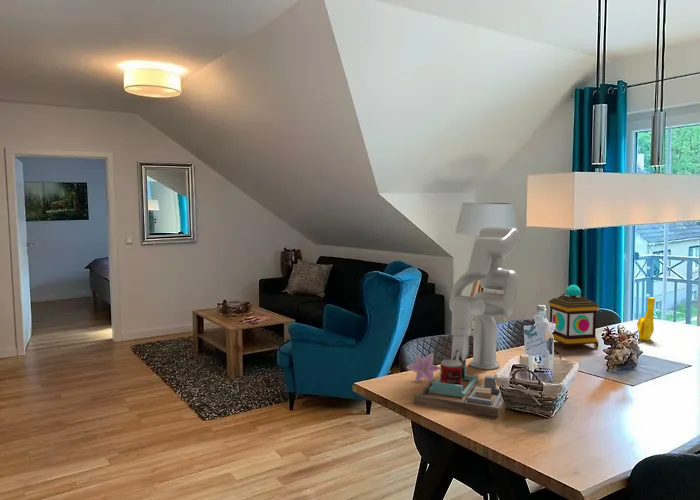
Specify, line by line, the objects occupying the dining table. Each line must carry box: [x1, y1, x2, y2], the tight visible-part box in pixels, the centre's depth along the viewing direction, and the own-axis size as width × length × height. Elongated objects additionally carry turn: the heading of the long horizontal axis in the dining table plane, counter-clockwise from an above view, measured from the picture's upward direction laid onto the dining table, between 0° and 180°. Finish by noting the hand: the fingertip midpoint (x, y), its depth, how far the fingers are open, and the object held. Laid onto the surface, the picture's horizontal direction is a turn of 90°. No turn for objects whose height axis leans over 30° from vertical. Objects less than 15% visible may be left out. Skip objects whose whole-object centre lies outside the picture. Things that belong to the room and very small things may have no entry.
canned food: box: [439, 359, 463, 385], centre depth 209 cm, size 8×8×11 cm
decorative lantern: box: [548, 284, 600, 352], centre depth 273 cm, size 20×20×30 cm
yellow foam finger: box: [636, 296, 656, 342], centre depth 284 cm, size 18×8×22 cm, turn 142°
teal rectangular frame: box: [428, 364, 479, 399], centre depth 214 cm, size 22×13×6 cm, turn 155°
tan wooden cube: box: [475, 386, 492, 400], centre depth 196 cm, size 5×5×5 cm
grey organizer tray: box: [465, 375, 502, 406], centre depth 199 cm, size 22×10×6 cm, turn 155°
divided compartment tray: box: [413, 379, 505, 418], centre depth 200 cm, size 22×29×3 cm
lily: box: [406, 352, 441, 382], centre depth 224 cm, size 12×12×10 cm
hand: (460, 376), depth 223 cm, fingers closed on teal rectangular frame, 2 cm apart
